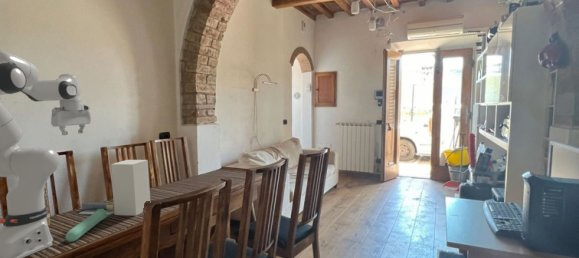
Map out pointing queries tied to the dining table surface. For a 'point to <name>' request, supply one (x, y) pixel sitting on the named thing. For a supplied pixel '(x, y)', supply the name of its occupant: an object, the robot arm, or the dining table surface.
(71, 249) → the dining table surface
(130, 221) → the dining table surface
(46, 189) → the paper tube
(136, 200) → the pedestal
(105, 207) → the strut
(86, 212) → the mat
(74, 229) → the mint green rounded rod
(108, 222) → the dining table surface
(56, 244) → the dining table surface
